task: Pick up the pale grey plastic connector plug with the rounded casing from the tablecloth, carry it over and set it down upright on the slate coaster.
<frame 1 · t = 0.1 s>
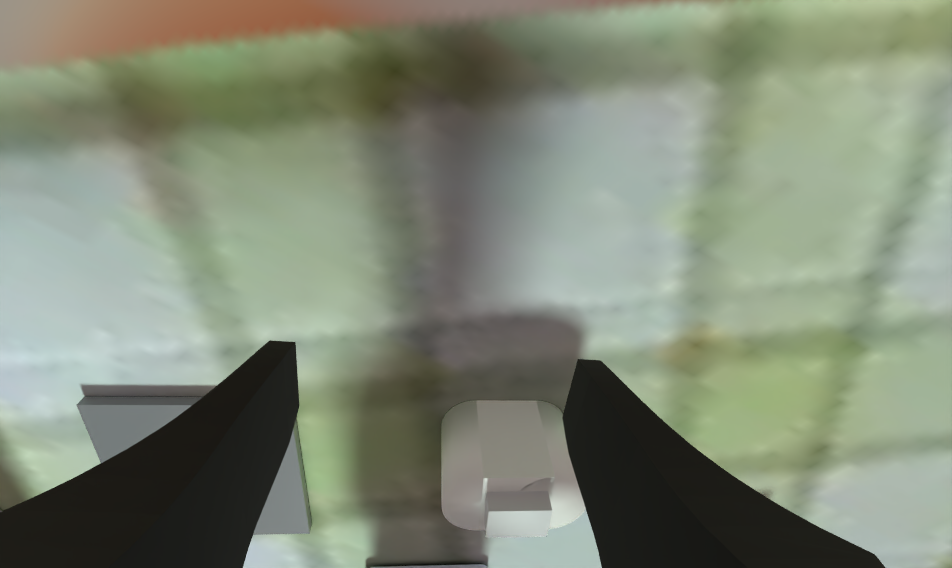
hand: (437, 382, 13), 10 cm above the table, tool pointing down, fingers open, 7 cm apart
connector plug: (503, 425, 27), on the table
slate coaster: (209, 467, 27), on the table
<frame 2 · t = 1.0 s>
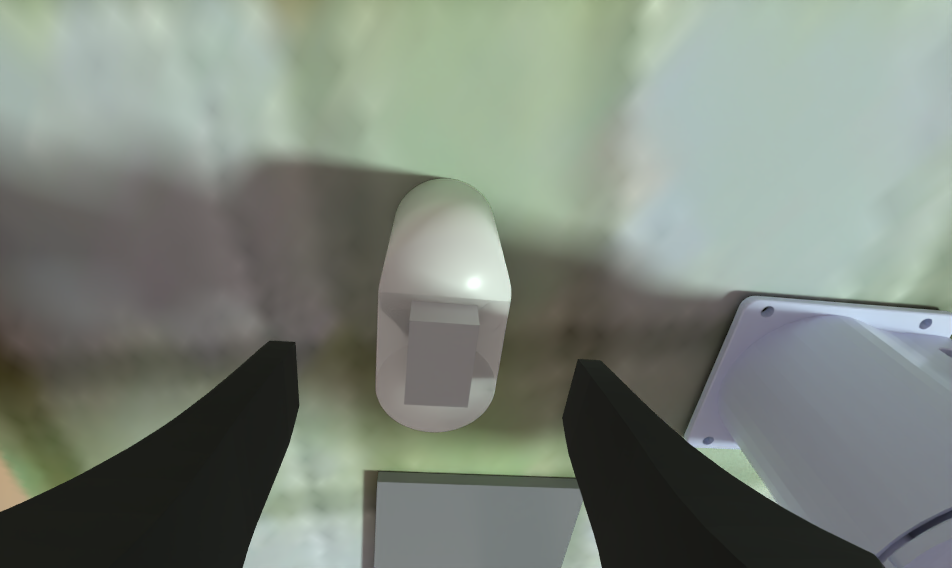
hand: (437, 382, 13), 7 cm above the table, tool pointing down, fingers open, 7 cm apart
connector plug: (441, 267, 19), on the table
slate coaster: (471, 540, 27), on the table
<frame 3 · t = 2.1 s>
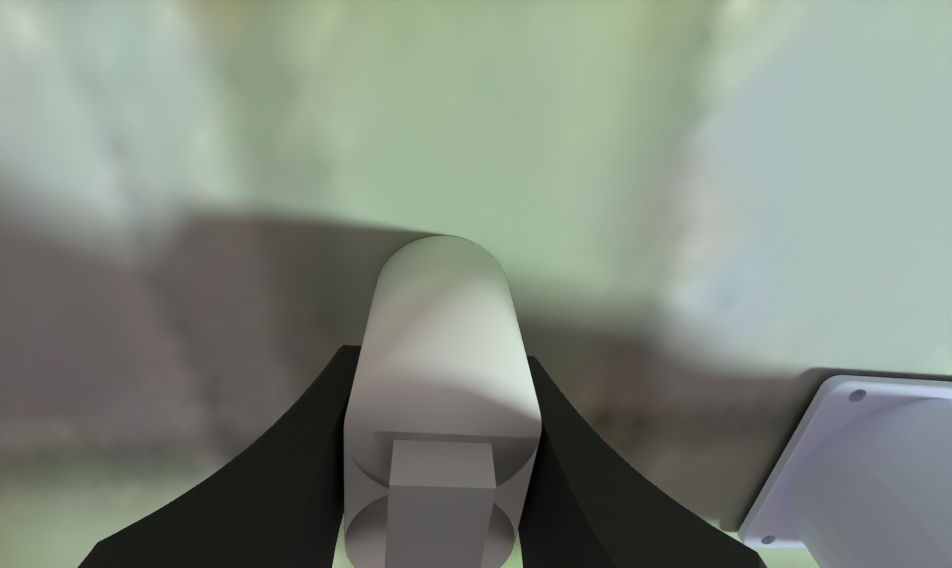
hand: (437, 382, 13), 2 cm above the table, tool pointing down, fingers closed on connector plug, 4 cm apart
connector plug: (437, 345, 14), on the table, touching gripper
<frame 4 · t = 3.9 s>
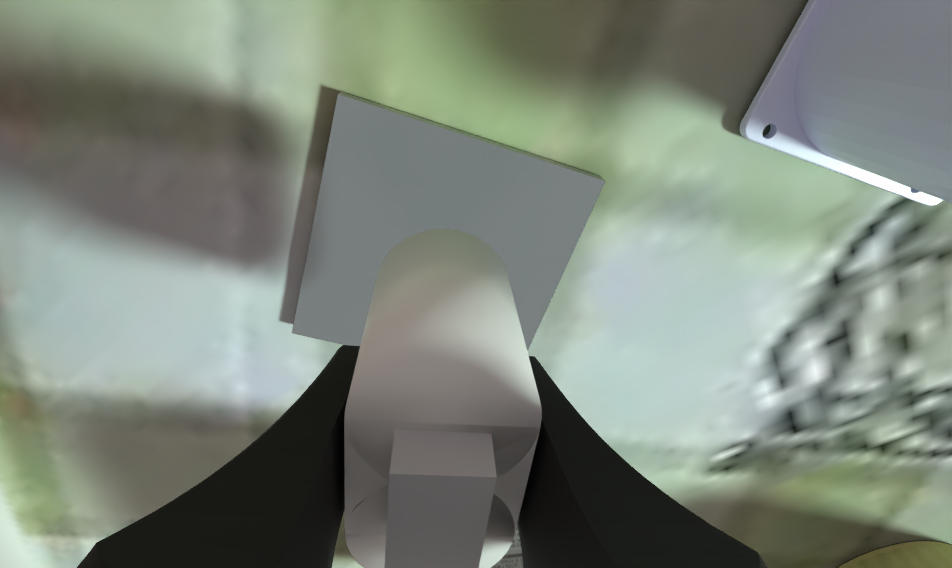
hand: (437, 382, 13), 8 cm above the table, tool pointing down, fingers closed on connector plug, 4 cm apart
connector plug: (438, 339, 14), point 7 cm above the table, touching gripper
brown food box: (482, 512, 29), on the table
slate coaster: (439, 255, 20), on the table
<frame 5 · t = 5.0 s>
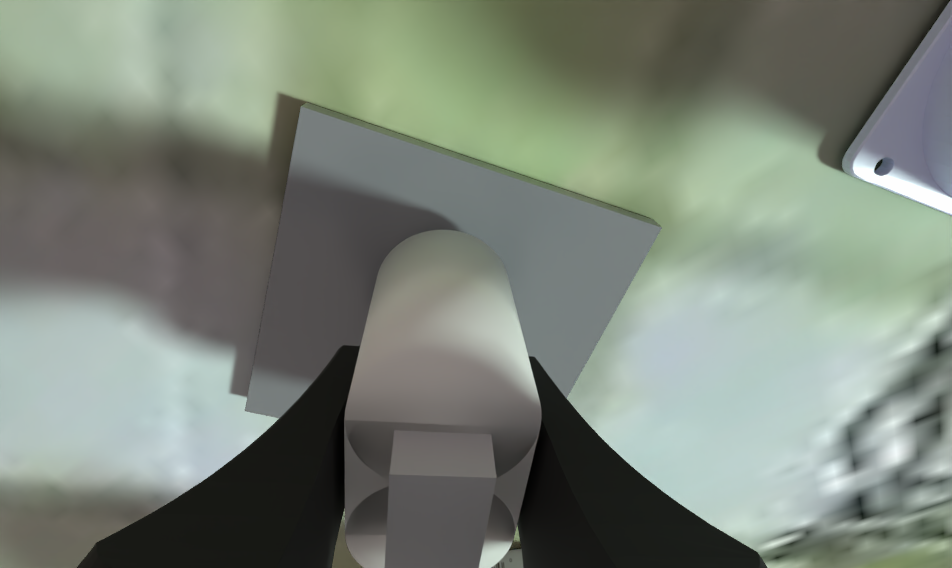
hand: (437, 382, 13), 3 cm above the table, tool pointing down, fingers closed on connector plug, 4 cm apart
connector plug: (438, 339, 14), point 2 cm above the table, touching gripper
slate coaster: (438, 315, 16), on the table
when the fingers open (3 cm above the table, at t = 5.7 s): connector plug stays where it is, resting on slate coaster.
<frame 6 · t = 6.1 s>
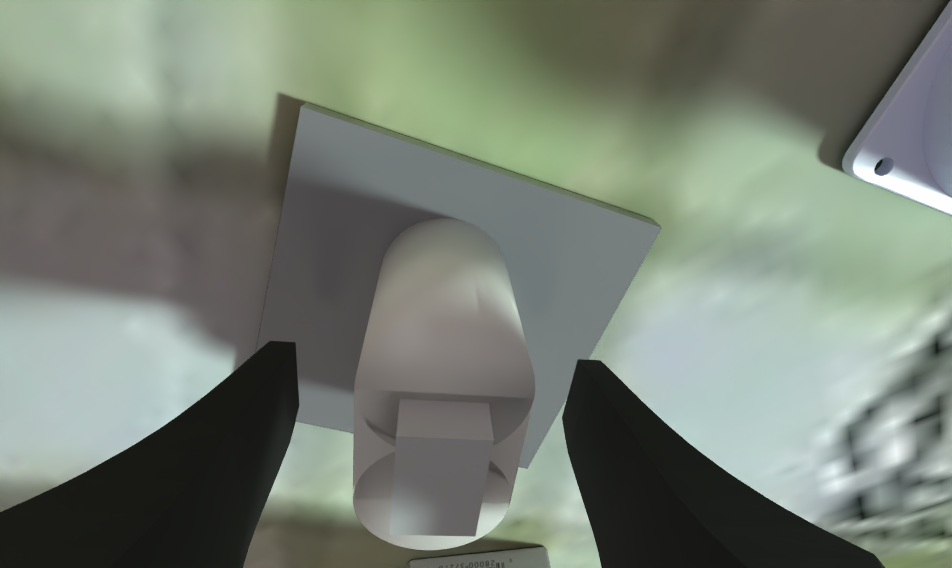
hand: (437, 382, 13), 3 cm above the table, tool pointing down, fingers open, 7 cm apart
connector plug: (439, 323, 15), point 1 cm above the table, touching slate coaster
slate coaster: (438, 315, 16), on the table
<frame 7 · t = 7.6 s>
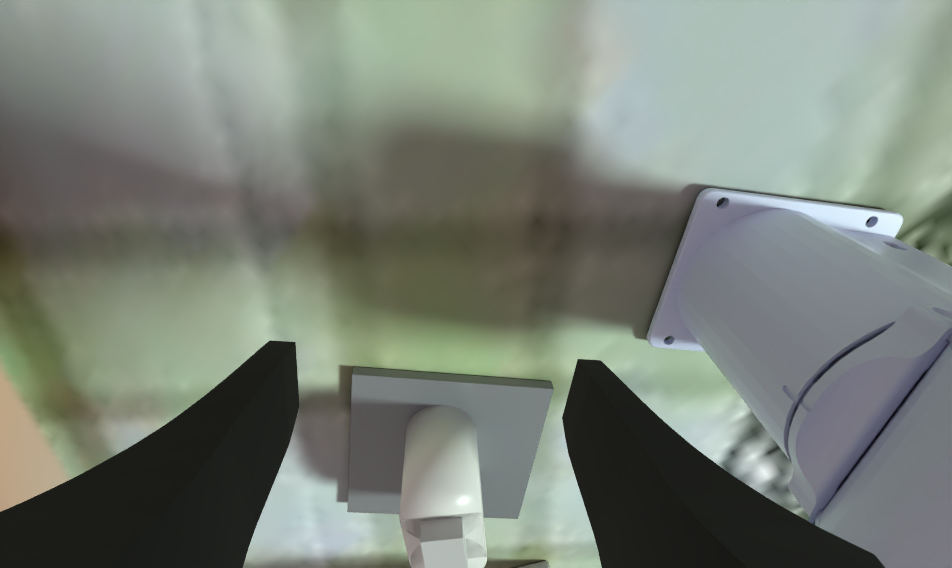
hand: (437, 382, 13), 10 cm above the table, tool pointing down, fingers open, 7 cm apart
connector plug: (444, 453, 27), point 1 cm above the table, touching slate coaster
slate coaster: (443, 446, 27), on the table
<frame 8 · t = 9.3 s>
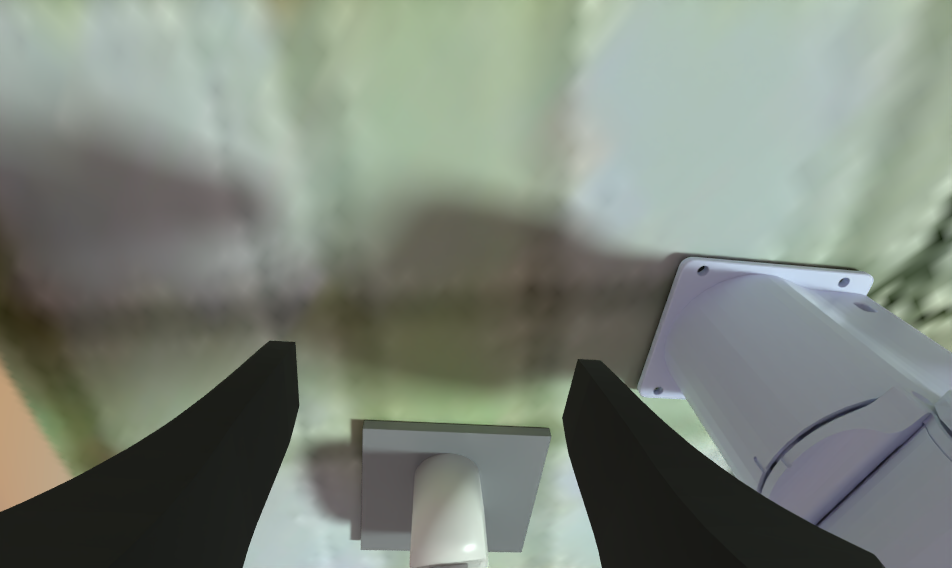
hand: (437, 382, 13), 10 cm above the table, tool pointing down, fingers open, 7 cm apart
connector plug: (450, 495, 29), point 1 cm above the table, touching slate coaster
slate coaster: (449, 488, 29), on the table
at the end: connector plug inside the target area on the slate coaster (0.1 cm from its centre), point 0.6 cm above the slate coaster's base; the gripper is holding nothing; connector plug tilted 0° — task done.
